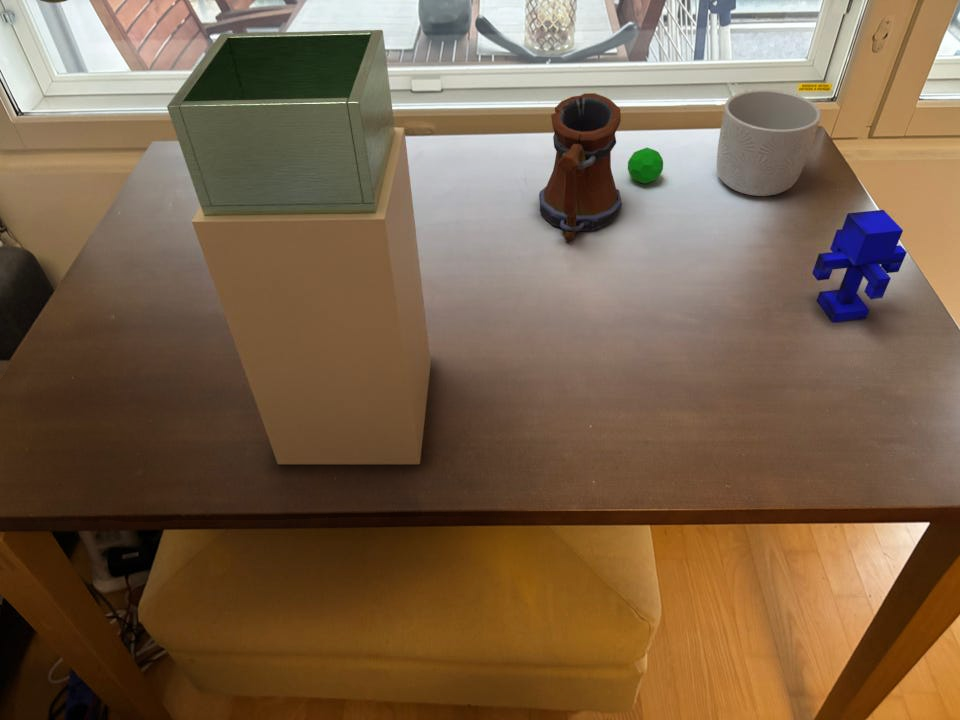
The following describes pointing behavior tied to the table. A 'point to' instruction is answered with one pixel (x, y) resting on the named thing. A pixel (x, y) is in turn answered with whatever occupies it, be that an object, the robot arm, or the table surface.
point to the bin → (312, 239)
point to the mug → (582, 165)
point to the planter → (765, 140)
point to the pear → (53, 1)
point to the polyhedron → (645, 165)
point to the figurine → (859, 263)
